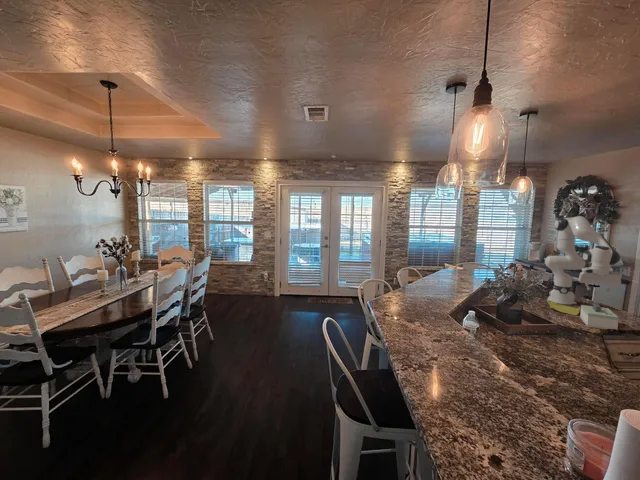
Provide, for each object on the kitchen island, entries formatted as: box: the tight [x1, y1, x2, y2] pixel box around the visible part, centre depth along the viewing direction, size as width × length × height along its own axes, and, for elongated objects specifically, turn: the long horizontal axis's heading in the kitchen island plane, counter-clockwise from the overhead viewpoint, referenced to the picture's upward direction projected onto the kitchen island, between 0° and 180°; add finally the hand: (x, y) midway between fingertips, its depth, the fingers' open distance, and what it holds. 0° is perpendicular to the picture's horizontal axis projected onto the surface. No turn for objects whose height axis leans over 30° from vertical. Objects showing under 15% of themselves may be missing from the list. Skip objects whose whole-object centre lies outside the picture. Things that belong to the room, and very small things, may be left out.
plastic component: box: [546, 298, 581, 316], centre depth 217 cm, size 20×7×10 cm
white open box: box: [579, 307, 619, 331], centre depth 190 cm, size 20×14×9 cm
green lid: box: [580, 303, 619, 321], centre depth 190 cm, size 20×14×6 cm
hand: (598, 291), depth 189 cm, fingers open, 8 cm apart
